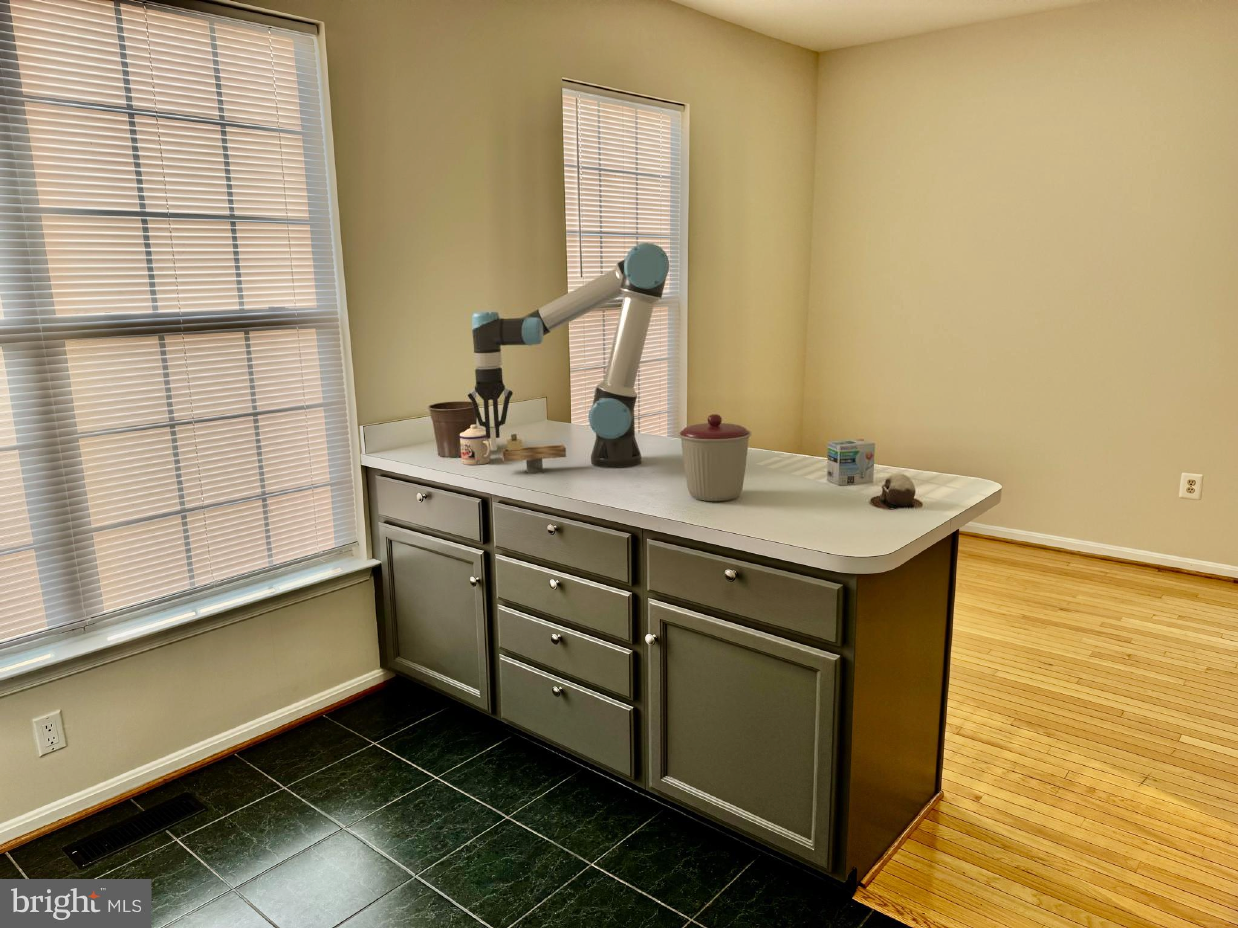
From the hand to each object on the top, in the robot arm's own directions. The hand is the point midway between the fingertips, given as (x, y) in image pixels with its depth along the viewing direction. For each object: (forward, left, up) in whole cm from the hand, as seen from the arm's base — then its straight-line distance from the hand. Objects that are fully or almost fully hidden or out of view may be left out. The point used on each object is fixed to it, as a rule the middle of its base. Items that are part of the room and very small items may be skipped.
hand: (493, 449), depth 253 cm
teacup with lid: (+4, -17, -8) cm, 19 cm away
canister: (-51, +45, -8) cm, 69 cm away
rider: (-6, 0, -2) cm, 6 cm away
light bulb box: (-90, +41, -8) cm, 100 cm away
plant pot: (+10, -33, -8) cm, 35 cm away
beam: (-11, 0, -7) cm, 14 cm away
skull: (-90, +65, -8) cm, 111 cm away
